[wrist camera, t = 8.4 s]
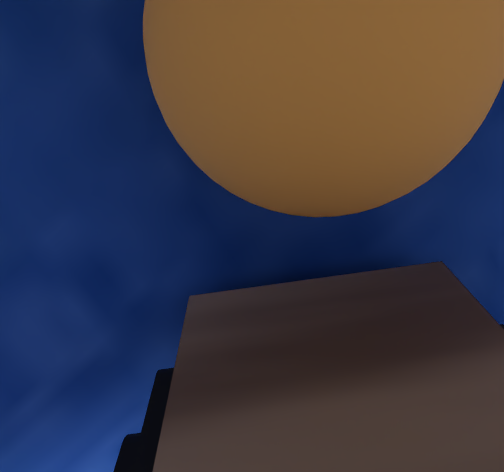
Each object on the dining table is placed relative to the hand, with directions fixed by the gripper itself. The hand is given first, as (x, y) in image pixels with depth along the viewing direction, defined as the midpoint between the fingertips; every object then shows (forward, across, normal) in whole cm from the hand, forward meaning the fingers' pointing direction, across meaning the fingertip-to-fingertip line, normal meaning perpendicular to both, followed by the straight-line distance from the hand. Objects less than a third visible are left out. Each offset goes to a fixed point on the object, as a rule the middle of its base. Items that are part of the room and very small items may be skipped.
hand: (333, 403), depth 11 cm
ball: (0, 0, -8) cm, 8 cm away
